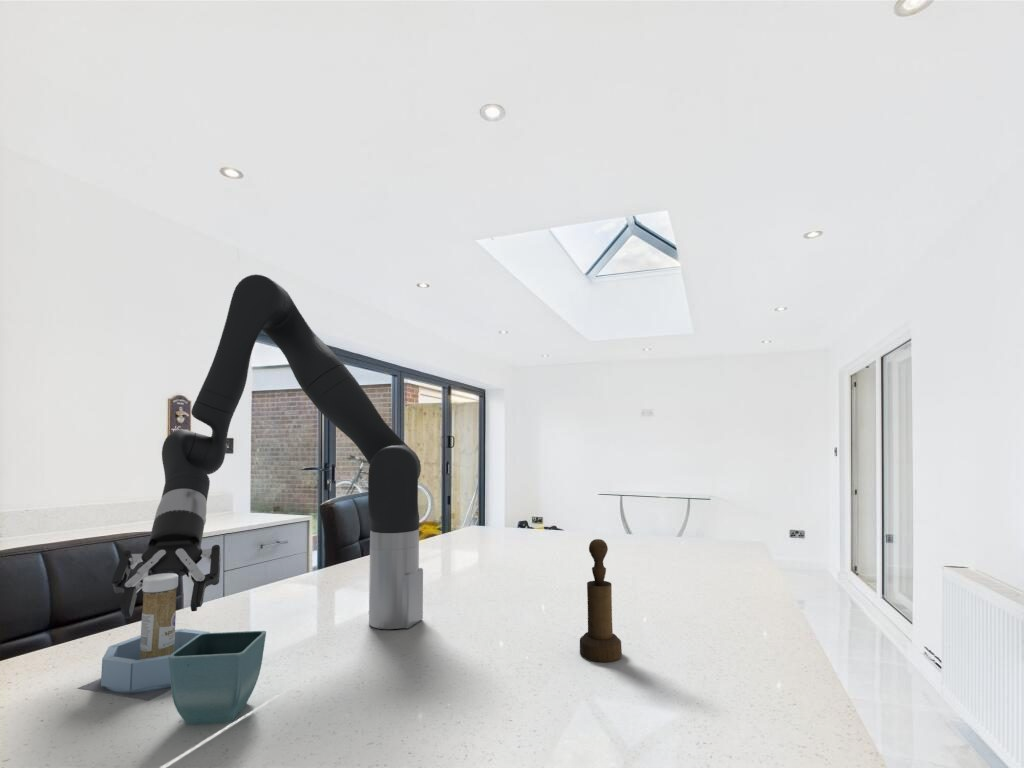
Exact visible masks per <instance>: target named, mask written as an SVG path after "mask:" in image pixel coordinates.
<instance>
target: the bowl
mask: <svg viewBox="0 0 1024 768" xmlns="http://www.w3.org/2000/svg"><path fill="white" fill-rule="evenodd" d="M202 633H211V632H210V631H206V630H205V631H204V630H196V629H187V628H179V629H175V642H174V652H175V651H176V650H178V649H179V648H181V647H182V646H183V645H185V644H186V643H188V642H189V641H190V640H192V639H193V638H194V637H196V636H197V635H199V634H202ZM140 642H141V634H140V635H138V636H135V637H131V638H129V639H126V640H123V641H120V642H117V643H115V644H112V645H109V646H108V647H107V650H106V651H105V653H104V655H103V657H102V659H101V676H100V677H101V678H100V679H101V686H104V687H105V688H106V689H107V690H109V691H112V692H116V693H142V692H150V691H155V690H161V689H165V688H169V687H171V682H170V671H169V660H168V657H169V656H170V655H166V656H160V657H153V658H147V659H140V658H141V649H140Z"/></svg>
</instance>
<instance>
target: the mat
mask: <svg viewBox="0 0 1024 768" xmlns="http://www.w3.org/2000/svg"><path fill="white" fill-rule="evenodd" d="M77 689H80V690H86V691H91V692H95V693H96V692H97V693H100V694H101V693H103V694H106V695H107V694H109V695H113V696H119V697H124V698H131V699H137V700H142V701H151V700H153V699H155V698H157V697H160V696H161V695H164V694H165V693H167V692H170V691H171V687H169V688H165V689H161V690H155V691H150V692H142V693H116V692H112V691H109V690H107V689H106V688H105V687H104V686H101V678H99V679H95V680H94V681H90V682H89V683H87V684H84V685H81V686H79V687H77Z"/></svg>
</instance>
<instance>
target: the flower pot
mask: <svg viewBox="0 0 1024 768" xmlns="http://www.w3.org/2000/svg"><path fill="white" fill-rule="evenodd" d="M266 636H267V630H251V631H250V630H249V631H248V630H247V631H225V632H210V633H202V634H199V635H197V636H196V637H194V638H193V639H192V640H190V641H189V642H188V643H186V644H185V645H183V646H182V647H181V648H179V649H178V650H176V651H175V652H173V653H172V654H171V655H170V656H169V657H168V660H169V671H170V682H171V690H170V691H171V697H172V702H173V704H174V707H175V709H176V710H177V713H178V714H179V716H180V717H181V718H182V719H183V720H184V721H183V722H185V723H186V724H187V725H189V726H190V725H205V724H206V725H207V724H227V723H231V722H232V721H234V720H235V718H236V717H237V715H238V714H239V713H240V712H241V711H242V710H243V709H244V707H246V705H247V703H248V701H249V699H250V698H251V696H252V694H253V692H254V690H255V688H256V685H257V682H258V679H259V676H260V673H261V669H262V664H263V657H264V651H265V644H266V643H265V642H266Z"/></svg>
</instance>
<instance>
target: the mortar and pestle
mask: <svg viewBox="0 0 1024 768" xmlns="http://www.w3.org/2000/svg"><path fill="white" fill-rule="evenodd" d="M608 549H609V548H608V543H606V541H605V540H603V539H599V538H595V539H593V540H591V541H590V543H589V545H588V551H589V553H590V556H591V557H592V559H593V562H594V564H593V566H592V568H591V571H592V576H593V578H594V579H593V580H590V581H587V582H586V591H587V596H586V597H587V632H584V634H583V635H581V636H580V638H579V655H580V656H581V657H582V658H584V659H586V660H589V661H594V662H599V663H609V662H615V661H619V659H621V658H622V653H623V651H622V640H621V638H619V637H618V636H617V635H616V634H615V633H613V603H612V602H613V597H612V595H613V594H612V592H613V591H612V583H611V582H610V581H606V580H605V579H606V578H605V577H606V572H607V568H606V567H605V565H604V560H605V557H606V556H607V553H608Z"/></svg>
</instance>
